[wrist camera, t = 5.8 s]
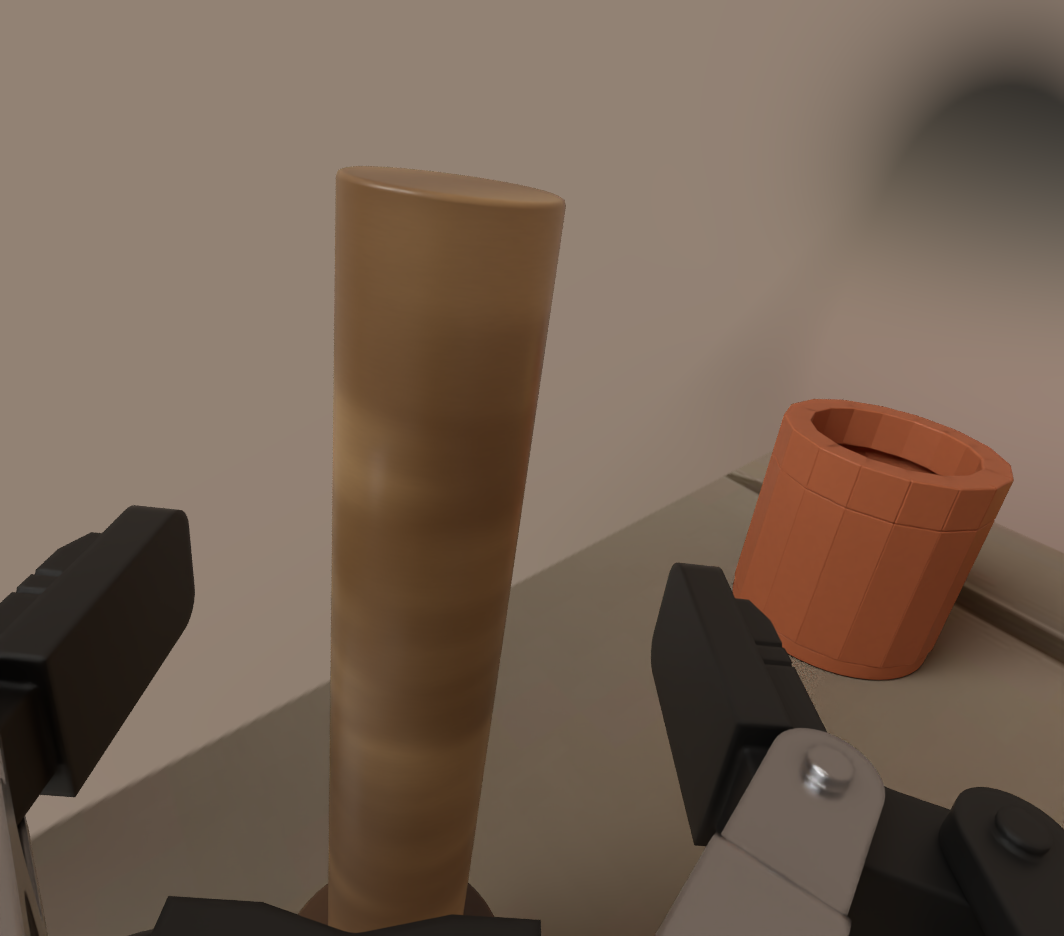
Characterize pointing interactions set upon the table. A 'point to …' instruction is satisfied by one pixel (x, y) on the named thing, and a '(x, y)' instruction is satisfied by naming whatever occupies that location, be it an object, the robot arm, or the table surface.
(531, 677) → the table surface
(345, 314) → the brown cylinder
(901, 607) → the jar
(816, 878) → the robot arm
